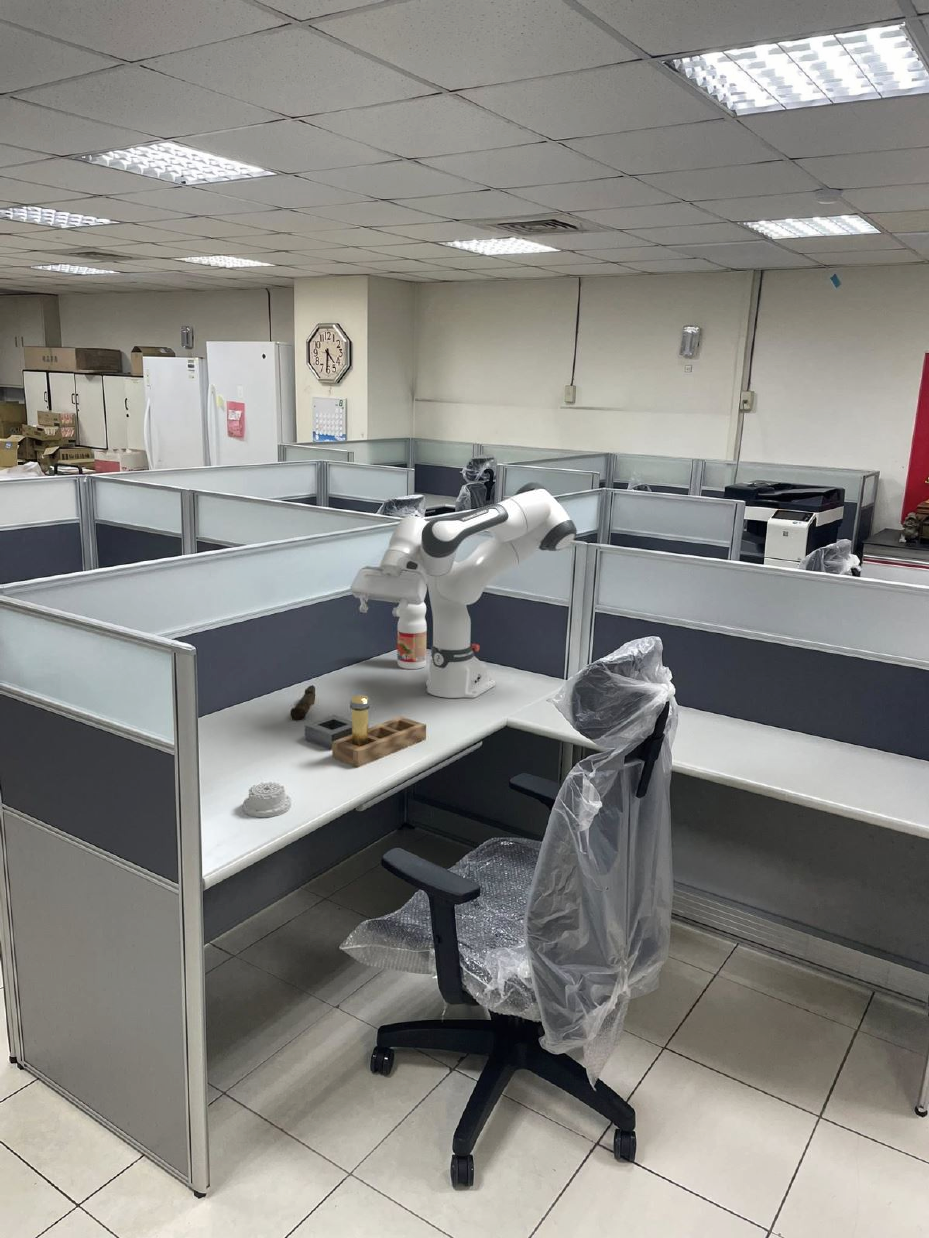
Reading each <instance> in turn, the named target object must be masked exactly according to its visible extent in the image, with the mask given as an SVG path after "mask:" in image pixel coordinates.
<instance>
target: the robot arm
mask: <svg viewBox="0 0 929 1238" xmlns="http://www.w3.org/2000/svg"><path fill="white" fill-rule="evenodd" d="M483 532H488V533H489V534H490V535H491V536H492V537H490V538H489V539H487V540H485V541H483V542H481V543H480V544H478V545H477V546H476V547H475V549H474V551H473V552H471V554H470V555H469V556H468V557H466V558H465V559H463V560H462V561H459V562H457V561H455V559H456V554H457V552H458V549H459V547H460V546H461V544H462V543H464V542H463V541H465V540H466V539H469V538H470V537H473V536H476V535H479V534H481V533H483ZM577 533H578V531H577V526H576V525H575V522H574V521H573V520H572V519H570V517H569V515H568V513H567V511H566V510H565V509H564V508H563V506H562V505H561V504H560V503H559V502H558V501H557V500H556V499H555V498H554V496H552V495H551V494H550V492H548V491H547V488H546V487H545V486H543V485H542V484H541V483H539V482H529V483H526V484H524V485H523V486H521V487H520V488H519V489H518V490H517V491H516V493H514V495H513V496H510V497H509V498H507V499H504V500H502V501H500V502H498V503H491V504H487V505H484V506H481V507H478V508H475V509H473V510H470V511H466V512H464V513H461V514H459V515H456V516H453V517H440V518H435V519H432V520H429V522H427V521H426V519H424V518H423V517H420V516H416V515H409V516H408V515H407V516H405V517H403V518H402V519H401V520H400V521H399V522H398V523H397V525H396V527H395V528H394V530H393V533H392V535H391V536H390V539H389V543H388V544H389V545H388V548H387V549H386V550H385V552H384V554H383V555H382V556H383V557H382V559H381V562H380V564H379V566H369V565H366V566H365V567H362V568H359V570H358V572H357V573H356V574H357V575H356V576H355V577H354V579H353V581H352V583H351V586H350V592H351V594H352V596H353V597H354V598H356V599H359V601H360V606H359V612H361V613H364V614H365V613H367V612H368V610H369V606H368V605H367V602H368V601H369V600H373V601H380V602H381V601H382V602H389V603H401V604H400V605H399V604H398V606H395V607H393V609H392V611H391V615H392V616H393V617H398V618H400V614H401V612H402V611H403V610H404V609H405V608H407V607H408V604H414V605H420V604H421V603H423V601H424V602H425V598H426V595H427V592H428V595H429V601H430V607H431V613H432V628H433V629H432V644H431V647H430V651H431V652H430V653H431V654H430V656H431V657H432V658H431V659H430V663H429V671H428V679H427V680H426V683H425V685H426V687H427V688H426V692H427V693H429V694H430V695H431V696H432V695H433V696H435V697H441V698H449V699H451V698H452V699H455V698H456V699H458V698H472V699H474V698H477V697H479V696H480V695H482V694H483V693H486V692H487V691H488V690H490V689H491V688H493V687H495V686H496V685H497V684H496V683H497V682H496V681H495V680H494V679H492V678H489V671H488V666H487V665H486V664H485V663H484V662H482V661H481V660H479V659H478V658H477V657H476V656H475V653H474V652H479V650H480V645H479V644H476V643H472V644H471V633H472V632H471V630H472V629H471V628H472V627H471V625H472V621H471V617H470V614H469V612H468V607H467V606H469V605H473V604H474V603H476V602H477V601H478V600H479V599H480V598H481V596H482V594H483V593H484V590H485V589H486V588H487V587H488V586H490V584H491V583H493V581H495V580H497V579H498V578H500V577H501V576H503V575H504V574H506V573H507V572H509V571H511V570H513V569H514V568H516V567H518V566H520V565H521V564H523V563H525V562H526V561H527V560H528V559H530V558H532V556H534V555H535V554H536V553H537V552H538V551H539V550H541V551H543V552H544V551H550V552H557V551H561V550H563V549H565V548H566V547H568V546H569V545H571V543H572V542H573V541H574V540H575V538H576V537H577ZM427 590H428V591H427Z"/></svg>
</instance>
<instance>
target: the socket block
mask: <svg viewBox="0 0 929 1238" xmlns="http://www.w3.org/2000/svg"><path fill="white" fill-rule="evenodd" d="M349 735H352V720H349V719H347V718H344V717H343V716H338V715H336V714H333V715H329V716H328V717H327V716H326V717H324V718H321V719H318V720H315V721H312V722H310V723H309V722H308V723H307V724H304V740H305V741H306V742H307V741H308V742H310V743H311V744H315V745H318V746H320V747H323V748H326V749H329V750H331V749H332V742H333V741H336V740H338V739H341V738H344V737H346V736H349Z"/></svg>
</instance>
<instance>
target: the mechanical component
mask: <svg viewBox="0 0 929 1238" xmlns="http://www.w3.org/2000/svg"><path fill="white" fill-rule="evenodd" d="M291 808H292V798H290V796H289V795H287V794H286V788H285V786H284V785H281V784H280V783H279V782H278V783H277V782H272V781H269V782H264V783H263V782H261V783H260V784H254V785H253V786H251V787H250V788H249V789H248V797H246V798H245V799H244V800H243V802H242V810H243V811H244V813H245V814H247V815H249V816H251V817H256V818H272V817H276V816H280V815H283V814H284V813H287V812H288V811H289V810H290V809H291Z"/></svg>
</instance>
